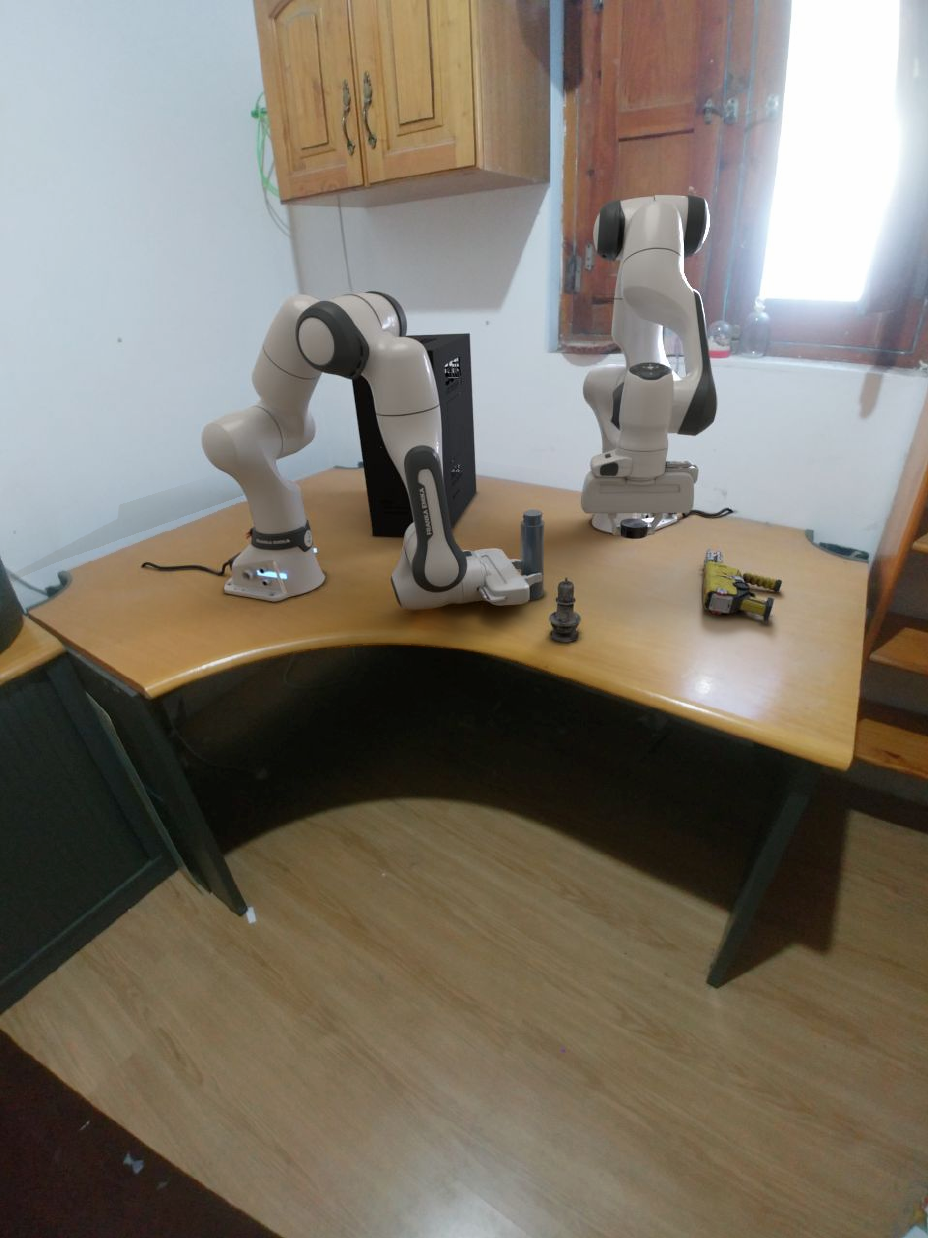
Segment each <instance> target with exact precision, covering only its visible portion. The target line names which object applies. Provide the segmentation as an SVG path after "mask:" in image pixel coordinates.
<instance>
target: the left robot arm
mask: <svg viewBox="0 0 928 1238" xmlns="http://www.w3.org/2000/svg"><path fill="white" fill-rule="evenodd" d="M407 333H408V322H407V316H406V313H405V311H404V309H403V307H402V304H400V303H399V301H398V300H397V299H396V298H395V297H393V296H392V295H390V294H388V293H385V292H382V291H375V290H371V291H365V292H352V293H346V294H345V293H344V294H341V295H340V296H337V297H333V298H330V299H328V300H319V299H317V298H316V297H314V296H312V295H309V294H304V293H298V294H293V295H290V296H289V297H288V298H286V299H285V300H284V301H283V303H282V305H281V306H280V307H279V309H278V311H277V313H276V314H275V316H274V317H273V319H272V321H271V323H270V324H269V327H268V329H267V332H266V334H265V336H264V339H263V342H262V345H261V348H260V350H259V353H258V356H257V358H256V361H255V363H254V367H253V370H252V372H251V383H252V386H253V388H254V390H255V392H256V394H257V395H258V397H259V398H260V399H259V400H258V402H256V403H255V404H254V405H252V406H250V407H246V408H243V409H239V410H235V411H231V412H227V413H224V414H222V415H220V416H218V417H216V418H214V420H212V421H210V422H209V423H207V424H206V425H205V426H204V427H203V429H202V432H201V448H202V450H203V453H204V455H205V457H206V459H207V460H208V461H209V463H210V464H211V465H212V466H213V467H214V468H216V469H217V470H218V471H221V472H223V473H225V474H227V475H229V476H230V477H232V478H233V480H234V481H236V483H237V484H238V485H239V486H240V487H239V488H241V489H242V492H243V493H244V495H245V498H246V500H247V503H248V507H249V511H250V514H251V517H252V523H253V526H252V527H251V528H249V531H247V532H246V533H245V534H244V536H246V537H245V540H248V539H249V538H251V540H250V543H249V544H248V545H247V546H246V547H245V548H244V549H243V550H242V551H240V552H239V553H237V554H235V555H233V556H232V557H230V558H229V559H227V561H226V562H224V563H223V564H222V566H221V571H220V572H219V571H218V572H216V571H215V570H212V569H210V568H208V567H206V566H203V565H197V564H185V565H173V566H171V565H170V566H162V565H161V566H160V565H158V564H155V563H153V562H149V561H145V562H143V563H142V564H141V566H140V568H145V567H146V566H150V567H152V568H155V569H158V570H164V571H167V570H168V571H169V570H184V569H200V570H202V571H205V572H208V573H210V574H212V575H216V576H222V575H224V574H225V573H226V568H227V567H228V566H229V569H230V572H231V577H230V578H228V580H227V581H226V582H225V584H224V587H223V588H224V593H225V594H229V595H234V596H240V597H244V598H249V599H257V600H262V601H268V602H274V603H275V602H280V601H283V600H286V599H288V598H290V597H294V596H300V595H303V594H306V593H309V592H311V591H313V590H315V589H317V588H319V587H320V586H321V585H322V584H323V583H324V582H325V579H326V575H325V574H324V572H323V570H322V568H321V566H320V564H319V562H318V561H319V560H318V559H317V556H316V553H318V549H317V547H314V546H313V545H314V544H313V543H314V541H313V535H312V530H311V526H310V521H309V519H307V514H306V509H305V506H304V505H305V503H304V500H303V495H302V490H301V488H300V486H299V485H298V484H297V483H296V482H294V481H293V480H292V479H290V478H287V477H283V476H282V474H281V473H280V470H279V468H278V466H277V460H280V459H284V458H286V457H288V456H291V455H294V454H297V453H299V452H300V451H301V450H304V449H305V448H306V446H307V447H308V445H310V444H311V443H312V442H313V440H314V439H315V437H316V432H317V431H316V429H317V427H316V421H315V418H314V415H313V414H312V412H311V411H310V409H309V407H310V402H311V400H312V398H313V395H314V392H315V390H316V388H317V385H318V384H319V381H320V378H321V376H322V374H328V375H333V376H339V377H341V378H344V379H347V380H351V381H352V380H355V379H356V378H358V377H359V376H360V375H362V376H363V377H364V378H365V379H366V380H367V381H368V382H369V384H370V386H371V389H372V393H373V397H374V404H375V410H376V416H377V421H378V425H379V429H380V432H381V435H382V438H383V441H384V444H385V446H386V449H387V451H388V453H389V455H390V457H391V459H392V461H393V462H394V464H395V466H396V468H397V470H398V471H399V473H400V475H401V477H402V479H403V482H404V484H405V486H406V489H407V492H408V495H409V499H410V504H411V509H412V515H413V520H414V522H413V523H411V524H410V525H409V526H408V528H407V529H406V531H405V534H404V537H403V542H402V547H401V553H400V556H399V560H398V562H397V564H396V566H395V569H394V570H393V571H392V573H391V575H390V583H391V587H392V590H393V592H394V596H395V599H396V601H397V603H398V606H400V607H401V608H402V609H404V610H407V611H408V610H409V611H420V610H421V611H422V610H430V609H436V608H437V609H438V608H442V607H444V606H447V605H450V604H457V605H462V604H468V603H475V602H480V601H481V602H482V601H484V602H488V603H490V604H492V605H494V606H514V605H522V604H526V603H527V602H529V601H530V599H529V595H530V591H529V586H531V585H532V584H534V583H537V582H541V581H542V574H541V573H540V572H539V571H537V572H532V574H531V575H529V576H526V575H523V576H521V572H519V570H521V559H515V558H511V559H509V558H508V556H507V555H506V553H505V552H504V551H503V549H501V548H496V547H494V548H493V547H491V548H483V549H474V550H472V551H471V550H470V549H463V550H462V548H461V546H459V544H458V543H457V541H456V539H455V536H454V533H453V529H451V523H450V518H449V512H448V506H447V500H446V494H445V487H444V481H443V463H442V428H441V414H440V405H439V398H438V392H437V387H436V382H435V378H434V374H433V370H432V366H431V363H430V360H429V357H428V354H427V351H426V349H425V347H424V346H423V345H422V344H421V343H420V342H418V341H417V340H414V339H412V338H408V337H406V336H407ZM353 374H354V375H353Z"/></svg>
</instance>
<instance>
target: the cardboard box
mask: <svg viewBox="0 0 928 1238" xmlns="http://www.w3.org/2000/svg"><path fill="white" fill-rule="evenodd" d="M406 337H408V338H412V339H414V340H417V341H418V342H420V343H421V344H422V345H423V346H424V347H425V349H426V351H427V354H428V357H429V360H430V363H431V366H432V370H433V374H434V378H435V382H436V387H437V392H438V398H439V405H440V414H441V428H442V463H443V481H444V487H445V494H446V500H447V506H448V512H449V518H450V523H451V529H452V530H453V529H454V528H455V526H456V524H457V523H458V521H459V520H460V518H461V517H462V515H463V514H464V512H465V511H466V509H467V507H468V506H469V505H470V503H471V502H472V500H473V498H474V497H475V495H476V494H477V471H476V470H477V469H476V448H475V446H476V445H475V426H474V424H475V423H474V422H475V421H474V401H473V377H472V355H471V352H472V351H471V334H470V333H469V332H467V333H440V334H439V333H437V334H413V335H412V334H410V335H407V334H406ZM450 364H451V365H450ZM353 375H354V374H353ZM351 385H352V392H353V399H354V407H355V415H356V420H357V429H358V437H359V442H360V450H361V451H360V452H361V458H362V465H363V473H364V482H365V487H366V495H367V502H368V509H369V518H370V524H371V525H370V526H371V532H372V536H377V537H378V536H379V537H398V538H399V537H400V538H404V534H405V531H406V529H407V528H408V526H409V525H410V524H411V523H413V522H414V520H413V515H412V509H411V504H410V499H409V495H408V492H407V489H406V486H405V484H404V482H403V479H402V477H401V475H400V473H399V471H398V470H397V468H396V466H395V464H394V462H393V461H392V459H391V457H390V455H389V453H388V451H387V449H386V446H385V444H384V441H383V438H382V435H381V432H380V429H379V425H378V421H377V416H376V410H375V404H374V397H373V393H372V389H371V386H370V384H369V382H368V381H367V380H366V379H365V378H364V377H363V376H362V375H360V376H359V377H358V378H356V379H355V380H351Z"/></svg>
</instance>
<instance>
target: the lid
mask: <svg viewBox="0 0 928 1238" xmlns="http://www.w3.org/2000/svg"><path fill="white" fill-rule="evenodd" d="M620 526H621V535H620V536H621V537H623V538H626V539H631V540H639V539H644V538H646V537H647V536H648V535H647V527H648V523H647V522H646V521H645V520H642V519H636V518H629V519H624V520H622V521H621V522H620Z"/></svg>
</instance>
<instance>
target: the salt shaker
mask: <svg viewBox="0 0 928 1238" xmlns="http://www.w3.org/2000/svg"><path fill="white" fill-rule="evenodd" d="M576 601H577V600H576V597H575V584H574V583H573V582H572V581H570V580H569V578H568V576H565V577H564V580H562V581H560V582H559V583H558V584H557V597H555V603H556V611H552V612H551V613H550V615H549V616H548V621H549V623H550V626H551V627H552V629H551V631H550V633H549V636H550V638H551V639H553V640H554V641H556V642H560V643H569V642H574V641H576V640H577V639H578V638H579V636H580V635H579V632H578V631H577V629H578V627H579V624H580V623H581V621H582V617H581V615H580V614H579V613H577V612H575V610H574V609H575V608H574V607H575V603H576Z"/></svg>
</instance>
